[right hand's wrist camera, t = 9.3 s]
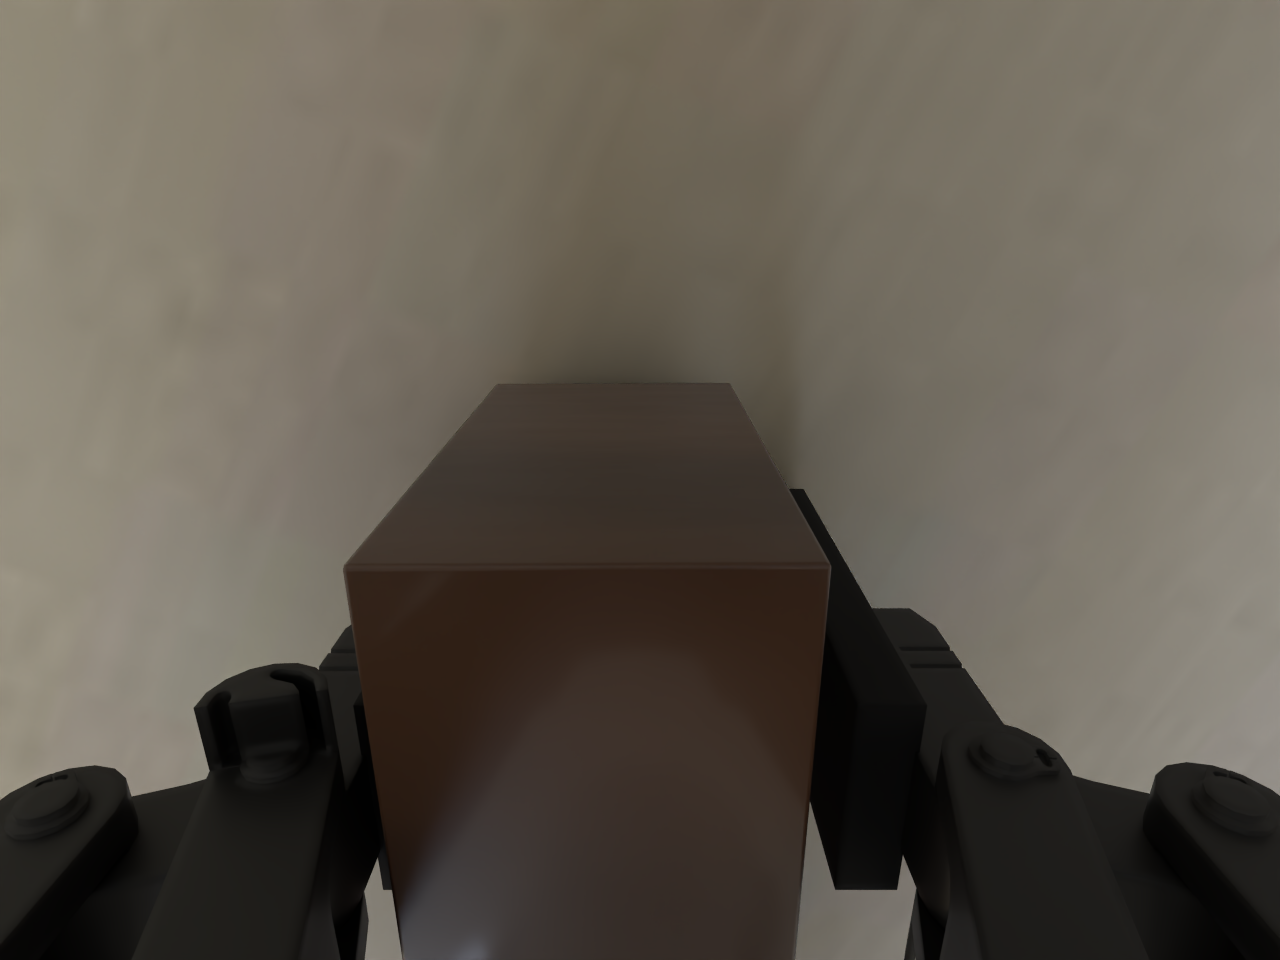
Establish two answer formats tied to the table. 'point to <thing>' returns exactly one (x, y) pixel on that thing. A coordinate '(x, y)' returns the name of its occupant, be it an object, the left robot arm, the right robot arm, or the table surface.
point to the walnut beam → (594, 681)
